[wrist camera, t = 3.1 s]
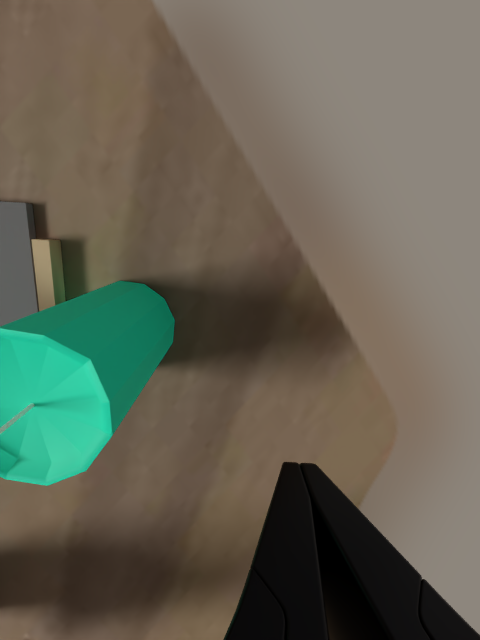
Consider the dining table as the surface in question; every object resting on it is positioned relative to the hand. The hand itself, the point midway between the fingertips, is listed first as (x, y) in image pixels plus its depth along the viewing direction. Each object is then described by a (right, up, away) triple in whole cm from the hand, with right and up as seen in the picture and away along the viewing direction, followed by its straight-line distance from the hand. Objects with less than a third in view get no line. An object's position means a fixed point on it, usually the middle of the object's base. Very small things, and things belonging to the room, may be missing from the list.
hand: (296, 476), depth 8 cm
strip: (-13, +4, +12) cm, 19 cm away
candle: (-9, +4, +13) cm, 16 cm away
